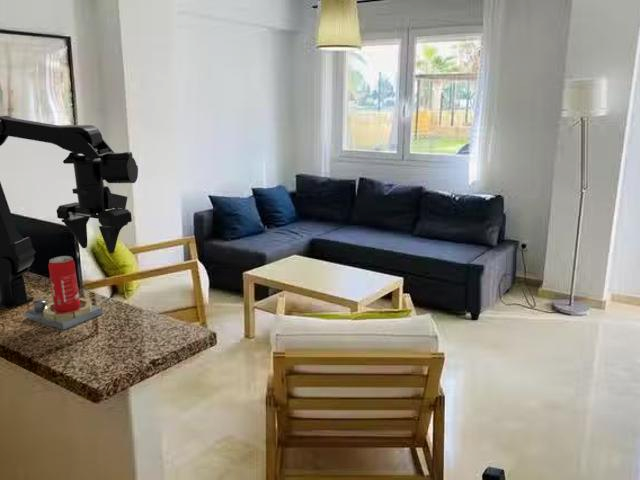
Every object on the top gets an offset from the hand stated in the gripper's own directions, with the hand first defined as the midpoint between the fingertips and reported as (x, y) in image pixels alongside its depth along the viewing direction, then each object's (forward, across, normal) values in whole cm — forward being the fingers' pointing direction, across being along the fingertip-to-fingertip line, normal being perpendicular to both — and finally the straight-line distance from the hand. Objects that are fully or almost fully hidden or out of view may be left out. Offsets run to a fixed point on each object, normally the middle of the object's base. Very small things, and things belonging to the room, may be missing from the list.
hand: (97, 250), depth 131 cm
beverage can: (+12, 0, +10) cm, 15 cm away
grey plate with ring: (+13, +2, +10) cm, 16 cm away
